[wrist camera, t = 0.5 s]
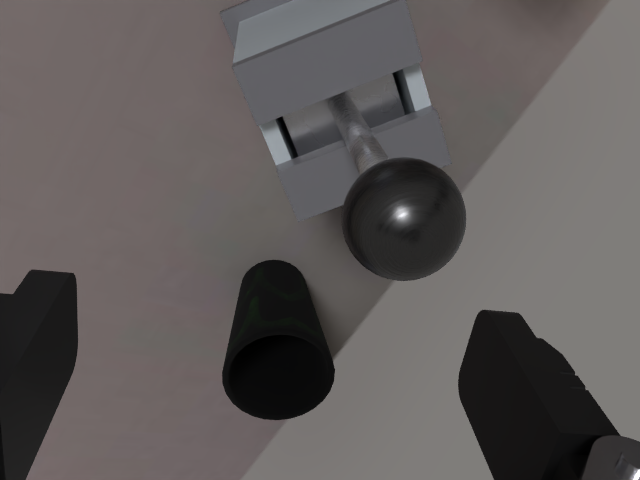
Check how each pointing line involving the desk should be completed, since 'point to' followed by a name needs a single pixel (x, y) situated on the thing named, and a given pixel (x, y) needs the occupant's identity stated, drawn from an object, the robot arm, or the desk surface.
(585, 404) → the robot arm
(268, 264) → the cup
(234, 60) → the slotted square pillar
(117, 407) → the desk surface
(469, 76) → the desk surface
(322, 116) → the plunger
